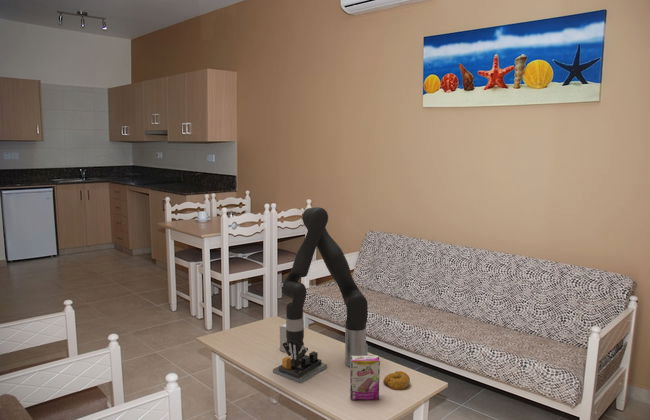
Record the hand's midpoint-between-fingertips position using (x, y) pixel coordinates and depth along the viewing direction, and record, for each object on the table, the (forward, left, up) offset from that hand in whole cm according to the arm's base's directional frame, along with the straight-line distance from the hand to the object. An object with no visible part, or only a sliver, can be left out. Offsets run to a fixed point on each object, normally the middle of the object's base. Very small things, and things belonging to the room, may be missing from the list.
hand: (295, 366), depth 211 cm
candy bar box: (-19, +28, -5) cm, 34 cm away
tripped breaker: (+3, -4, -3) cm, 6 cm away
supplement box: (-7, -26, -5) cm, 28 cm away
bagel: (-36, +23, -5) cm, 43 cm away
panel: (-4, -4, -4) cm, 7 cm away
